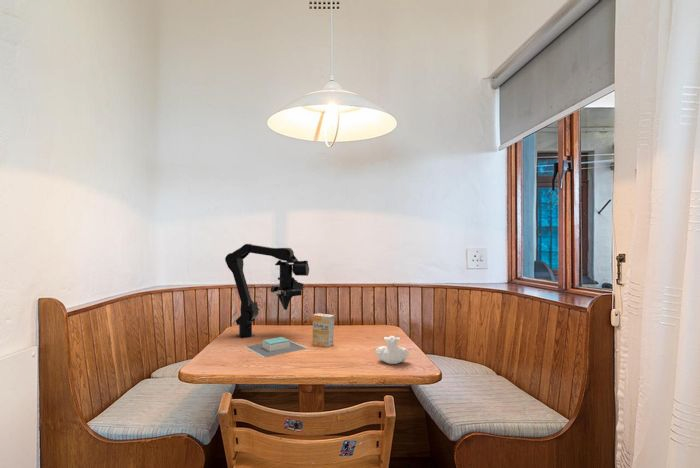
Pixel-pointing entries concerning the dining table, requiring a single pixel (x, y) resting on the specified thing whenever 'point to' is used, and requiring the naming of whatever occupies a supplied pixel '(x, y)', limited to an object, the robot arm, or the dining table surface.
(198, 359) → the dining table surface
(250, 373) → the dining table surface
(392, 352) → the white animal figurine
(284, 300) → the robot arm
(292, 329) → the dining table surface
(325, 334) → the supplement box
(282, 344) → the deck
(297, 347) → the mat
